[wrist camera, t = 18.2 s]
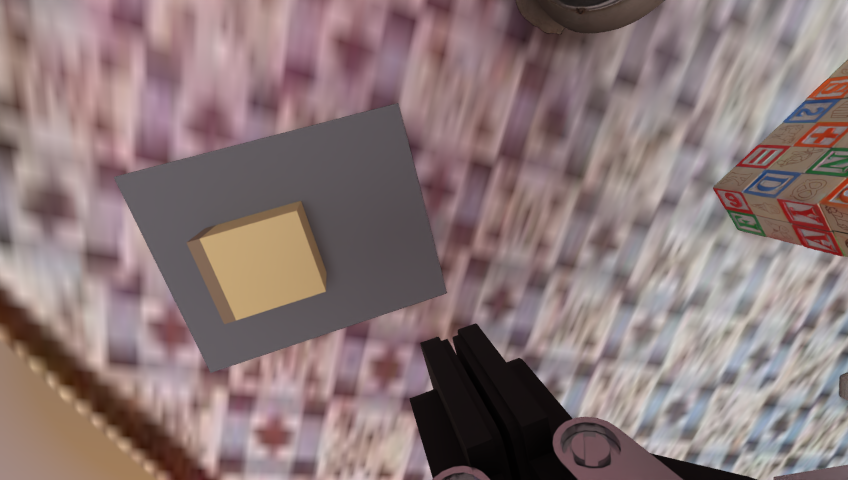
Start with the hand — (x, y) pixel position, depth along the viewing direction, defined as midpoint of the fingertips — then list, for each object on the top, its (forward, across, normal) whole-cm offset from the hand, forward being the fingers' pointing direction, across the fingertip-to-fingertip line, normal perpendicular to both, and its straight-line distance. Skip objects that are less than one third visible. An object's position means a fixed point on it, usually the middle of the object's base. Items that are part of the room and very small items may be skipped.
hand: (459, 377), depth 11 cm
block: (+20, +5, 0) cm, 20 cm away
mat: (+22, +6, 0) cm, 23 cm away
